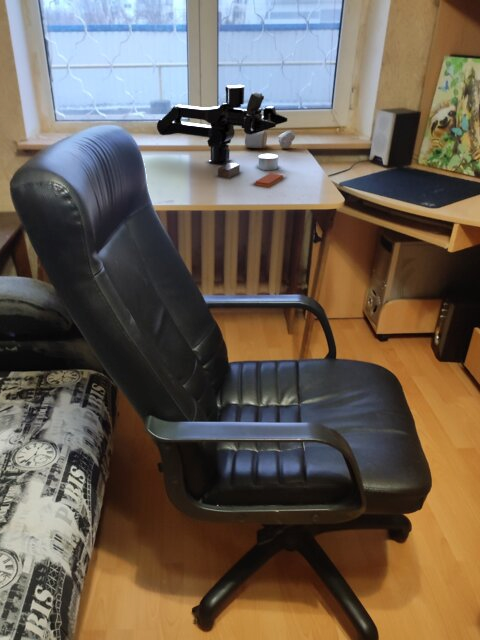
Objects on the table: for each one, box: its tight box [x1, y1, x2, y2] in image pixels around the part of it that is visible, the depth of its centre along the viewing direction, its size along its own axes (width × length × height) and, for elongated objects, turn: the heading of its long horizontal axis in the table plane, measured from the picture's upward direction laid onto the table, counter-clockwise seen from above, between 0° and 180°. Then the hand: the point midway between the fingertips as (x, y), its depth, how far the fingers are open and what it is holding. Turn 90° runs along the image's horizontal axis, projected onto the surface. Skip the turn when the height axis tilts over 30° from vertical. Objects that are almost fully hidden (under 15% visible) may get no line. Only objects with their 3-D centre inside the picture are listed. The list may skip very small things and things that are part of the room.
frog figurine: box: [278, 129, 296, 150], centre depth 225 cm, size 6×7×7 cm
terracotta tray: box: [253, 172, 284, 188], centre depth 192 cm, size 6×12×1 cm, turn 147°
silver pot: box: [257, 153, 279, 171], centre depth 205 cm, size 7×7×4 cm
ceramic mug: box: [244, 129, 268, 149], centre depth 228 cm, size 11×8×8 cm
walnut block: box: [217, 162, 241, 179], centre depth 198 cm, size 4×8×3 cm, turn 147°
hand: (281, 122), depth 192 cm, fingers open, 9 cm apart
